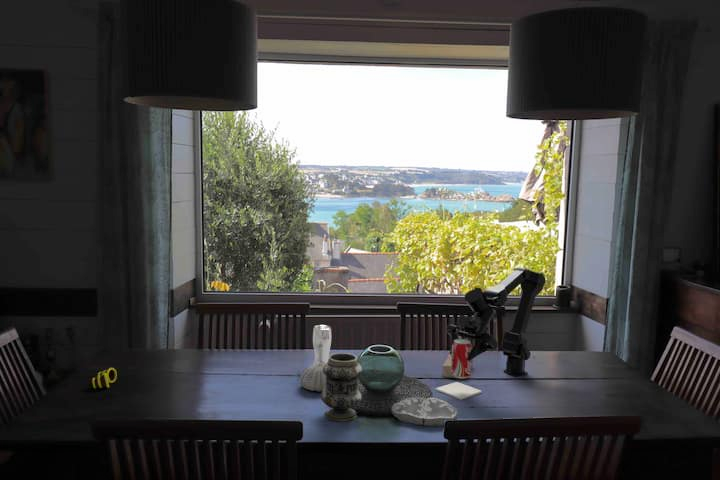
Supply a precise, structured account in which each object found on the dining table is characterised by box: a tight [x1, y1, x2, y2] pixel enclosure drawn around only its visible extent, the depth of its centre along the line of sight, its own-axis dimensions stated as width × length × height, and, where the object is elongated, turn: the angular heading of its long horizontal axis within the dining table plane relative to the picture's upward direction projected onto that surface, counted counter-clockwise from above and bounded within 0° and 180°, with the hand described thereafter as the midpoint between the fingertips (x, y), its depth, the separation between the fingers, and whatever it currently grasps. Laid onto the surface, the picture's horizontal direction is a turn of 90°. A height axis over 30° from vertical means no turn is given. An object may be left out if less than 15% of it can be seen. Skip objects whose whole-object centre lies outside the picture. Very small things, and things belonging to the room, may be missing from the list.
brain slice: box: [391, 396, 458, 427], centre depth 173 cm, size 20×17×3 cm
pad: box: [434, 381, 483, 401], centre depth 195 cm, size 11×11×1 cm
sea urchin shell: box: [299, 363, 326, 392], centre depth 195 cm, size 13×14×8 cm
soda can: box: [451, 338, 474, 379], centre depth 193 cm, size 7×7×12 cm
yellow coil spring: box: [92, 367, 118, 389], centre depth 193 cm, size 10×5×5 cm, turn 6°
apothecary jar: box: [320, 352, 363, 422], centre depth 172 cm, size 12×12×18 cm
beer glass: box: [312, 324, 332, 364], centre depth 217 cm, size 7×7×15 cm
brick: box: [441, 353, 465, 380], centre depth 216 cm, size 17×8×5 cm, turn 162°
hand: (459, 357), depth 192 cm, fingers closed on soda can, 7 cm apart
